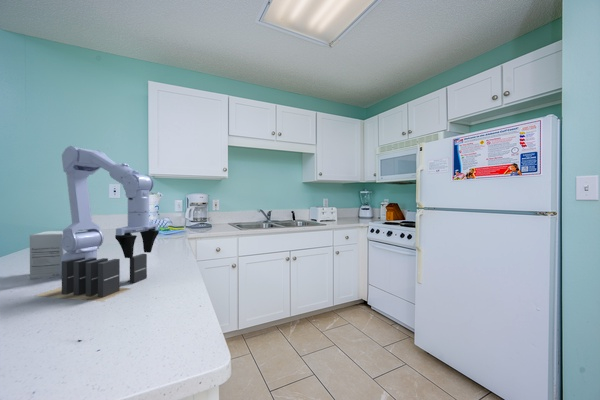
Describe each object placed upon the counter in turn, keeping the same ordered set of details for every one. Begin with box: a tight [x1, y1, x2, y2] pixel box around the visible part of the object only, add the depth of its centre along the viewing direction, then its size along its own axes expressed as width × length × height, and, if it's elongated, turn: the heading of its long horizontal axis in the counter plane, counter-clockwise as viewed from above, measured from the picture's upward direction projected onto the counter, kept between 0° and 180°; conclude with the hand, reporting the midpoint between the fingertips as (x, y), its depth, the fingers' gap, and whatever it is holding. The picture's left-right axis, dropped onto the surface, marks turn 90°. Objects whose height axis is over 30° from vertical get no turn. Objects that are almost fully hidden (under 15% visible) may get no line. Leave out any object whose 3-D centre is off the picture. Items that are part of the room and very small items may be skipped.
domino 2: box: [74, 257, 98, 296], centre depth 69 cm, size 2×5×9 cm, turn 171°
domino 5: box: [129, 253, 148, 284], centre depth 79 cm, size 2×5×9 cm, turn 171°
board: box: [34, 286, 132, 302], centre depth 69 cm, size 21×9×1 cm, turn 81°
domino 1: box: [61, 257, 85, 295], centre depth 70 cm, size 2×5×9 cm, turn 171°
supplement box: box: [29, 230, 67, 280], centre depth 88 cm, size 9×9×15 cm
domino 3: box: [86, 257, 109, 297], centre depth 69 cm, size 2×5×9 cm, turn 172°
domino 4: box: [98, 258, 121, 298], centre depth 68 cm, size 2×5×9 cm, turn 171°
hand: (138, 254), depth 79 cm, fingers open, 7 cm apart
